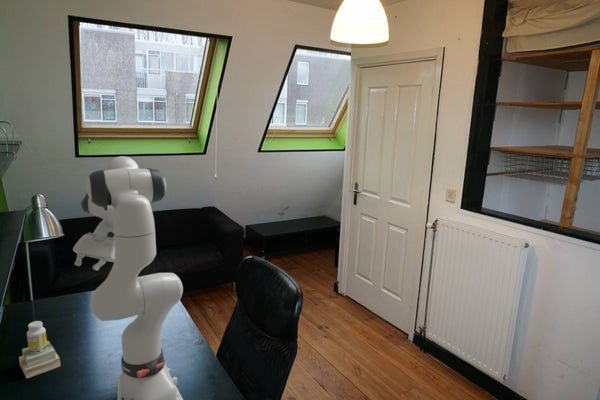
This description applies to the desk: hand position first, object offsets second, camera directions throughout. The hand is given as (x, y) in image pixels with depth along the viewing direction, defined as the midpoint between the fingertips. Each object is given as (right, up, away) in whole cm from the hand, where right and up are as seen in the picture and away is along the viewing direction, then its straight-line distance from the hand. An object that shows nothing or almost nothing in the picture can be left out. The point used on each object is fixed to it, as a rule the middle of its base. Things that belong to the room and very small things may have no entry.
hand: (85, 267), depth 153 cm
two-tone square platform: (-9, -32, -13) cm, 35 cm away
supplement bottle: (-9, -26, -14) cm, 31 cm away
